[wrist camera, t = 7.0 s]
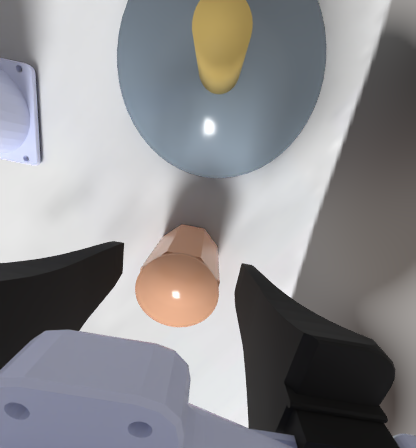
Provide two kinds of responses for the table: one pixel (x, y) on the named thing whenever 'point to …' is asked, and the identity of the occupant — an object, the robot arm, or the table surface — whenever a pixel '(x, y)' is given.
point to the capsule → (221, 41)
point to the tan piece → (180, 278)
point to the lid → (228, 102)
